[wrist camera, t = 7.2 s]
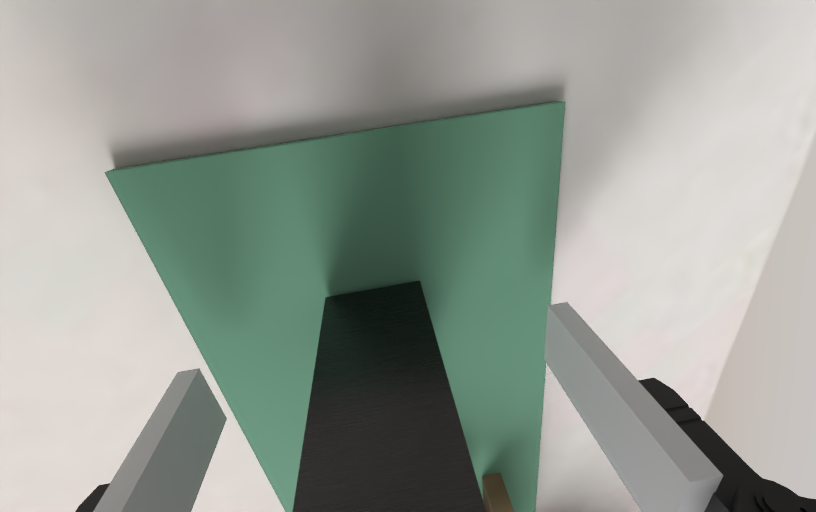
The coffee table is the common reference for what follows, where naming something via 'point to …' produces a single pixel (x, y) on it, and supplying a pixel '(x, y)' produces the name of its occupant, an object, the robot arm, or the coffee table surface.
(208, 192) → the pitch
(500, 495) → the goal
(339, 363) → the rod
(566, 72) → the coffee table surface
